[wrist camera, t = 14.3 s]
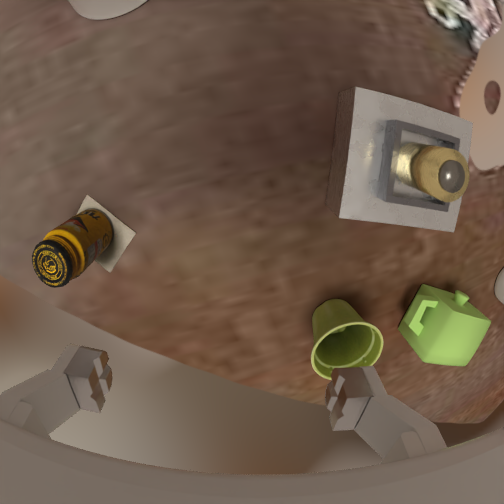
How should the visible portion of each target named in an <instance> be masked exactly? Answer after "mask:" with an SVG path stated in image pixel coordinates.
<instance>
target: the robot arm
mask: <svg viewBox="0 0 504 504" xmlns="http://www.w3.org/2000/svg"><path fill="white" fill-rule="evenodd" d="M68 1H69V2H70V4H71V5H72V7H73V8H74V10H75V11H76V12H77V13H78V14H80V15H81V16H83V17H85V18H89V19H95V20H102V19H109V18H114V17H117V16H120V15H123V14H125V13H128V12H130V11H132V10H134V9H135V8H137V7H139V6H140V5H142V4H143V3H144V2H146V1H147V0H68ZM108 360H109V358H108V355H107V352H106V351H103V350H98V349H94V348H89V347H84V346H78V345H74V344H69V345H67V347H66V348H65V350H64V351H63V353H62V354H61V356H60V357H59V359H58V360H57V362H56V363H55V365H54V366H53V368H52V369H51V370H46V371H44V372H42V373H40V374H38V375H36V376H34V377H32V378H30V379H28V380H26V381H24V382H22V383H20V384H18V385H16V386H14V387H12V388H10V389H8V390H6V391H4V392H2V394H1V395H0V504H504V427H503V428H501V429H498V430H496V431H493V432H491V433H488V434H486V435H483V436H481V437H478V438H475V439H473V440H470V441H467V442H464V443H461V444H458V445H455V446H452V447H448V448H447V446H446V444H445V442H444V440H443V438H442V436H441V434H440V432H439V430H438V428H437V426H436V425H435V424H434V423H432V422H431V421H429V420H428V419H426V418H424V417H423V416H421V415H420V414H418V413H417V412H415V411H414V410H412V409H411V408H409V407H408V406H406V405H405V404H403V403H402V402H400V401H399V400H398V399H396V398H395V397H393V396H392V395H387V393H386V391H385V389H384V386H383V384H382V382H381V380H380V378H379V376H378V374H377V372H376V370H375V368H374V367H373V366H362V367H345V368H334V369H333V370H332V373H331V379H332V381H331V382H330V383H329V384H328V385H327V388H326V394H325V401H326V406H327V408H328V409H329V410H330V411H331V414H330V417H329V418H330V422H331V425H332V429H333V431H335V430H352V429H355V431H356V432H357V433H358V434H359V435H360V436H361V437H362V438H363V439H364V440H365V441H366V442H367V443H368V444H369V445H370V446H371V447H372V448H373V449H374V450H375V451H376V452H377V453H378V454H379V455H380V456H381V457H382V458H383V461H382V462H381V464H378V465H373V466H367V467H360V468H353V469H346V470H338V471H329V472H318V473H304V474H283V475H240V474H219V473H206V472H196V471H187V470H179V469H171V468H164V467H157V466H152V465H146V464H140V463H136V462H131V461H126V460H122V459H117V458H113V457H108V456H105V455H100V454H97V453H93V452H90V451H86V450H83V449H79V448H76V447H73V446H69V445H66V444H63V443H60V442H57V441H54V440H52V439H51V438H50V436H49V433H51V432H52V431H54V430H55V429H56V428H57V427H59V426H60V425H61V424H63V423H64V422H65V421H66V420H68V419H69V418H70V417H72V416H73V415H74V414H75V413H77V412H78V411H79V410H80V409H83V410H87V411H92V412H97V413H100V412H101V410H102V408H103V405H104V403H105V397H104V395H105V394H106V393H108V392H109V391H110V388H111V385H112V371H111V368H110V367H109V366H108V365H107V362H108Z"/></svg>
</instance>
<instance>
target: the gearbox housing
mask: <svg viewBox="0 0 504 504" xmlns="http://www.w3.org/2000/svg"><path fill="white" fill-rule="evenodd" d="M472 125H473V123H472V122H470V121H467V120H465V119H462V118H459V117H457V116H454V115H451V114H449V113H446V112H443V111H440V110H437V109H434V108H431V107H428V106H425V105H422V104H419V103H416V102H412V101H409V100H406V99H402V98H399V97H395V96H392V95H388V94H384V93H380V92H376V91H372V90H368V89H364V88H359V87H353V88H350V89H347V90H344V91H341V92H339V95H338V106H337V116H336V125H335V134H334V143H333V151H332V159H331V167H330V175H329V182H328V189H327V196H326V203H325V205H326V206H328V207H329V208H330V209H331V210H332V211H333V212H334V213H335V214H336V215H337V216H338V217H339V218H345V219H354V220H363V221H372V222H380V223H389V224H397V225H405V226H412V227H420V228H427V229H435V230H442V231H449V232H454V230H455V226H456V221H457V217H458V213H459V208H460V204H461V199H462V196H461V197H460V198H459V199H457V200H456V201H453V202H443V201H441V200H439V199H437V198H435V197H432V196H430V195H428V194H426V193H424V192H421V191H419V190H417V189H415V188H412V187H410V186H408V185H406V184H404V183H403V182H402V181H401V180H400V179H399V177H398V175H397V165H398V158H399V151H400V149H401V148H402V147H403V146H404V145H406V144H408V143H412V142H416V143H422V144H428V145H434V146H439V147H445V148H450V149H454V150H457V151H458V152H460V153H461V154H462V155H463V156H464V158H465V159H466V161H467V164H468V159H469V152H470V144H471V135H472Z"/></svg>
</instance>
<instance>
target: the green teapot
mask: <svg viewBox="0 0 504 504" xmlns="http://www.w3.org/2000/svg"><path fill="white" fill-rule="evenodd" d="M468 299H469V297H468V296H467V295H466V294H465V293H463V292H461V291H459V290H456V291H455V294H453V293H450V292H447V291H444V290H441V289H438V288H435V287H432V286H428V285H425V284H422V285H421V287H420V289H419V290H418V292H417V294H416V296H415V298H414V299H413V301H412V303H411V305H410V306H409V308H408V310H407V312H406V314H405V316H404V317H403V319H402V321H401V323H400V326H399V328H398V330H399V331H400V332H401V334H402V335H403V336H404V338H405V339H406V340H407V342H408V343H409V344H410V346H411V347H412V348H413V349H414V351H415V352H416V353H417V355H418V356H419V357H420V359H421V360H422V361H423V362H426V363H433V364H440V365H450V366H466V365H467V363H468V362H469V361H470V359H471V358H472V356H473V355H474V353H475V352H476V350H477V348H478V346H479V345H480V343H481V341H482V339H483V337H484V335H485V333H486V331H487V329H488V327H489V325H490V323H491V321H490V320H489V319H488V318H487V317H486V316H484V315H483V314H482V313H481V312H480V311H479V310H478V309H476V308H475V307H474V306H473V305H472V304H470V303H469V302H468V301H467V300H468Z"/></svg>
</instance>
